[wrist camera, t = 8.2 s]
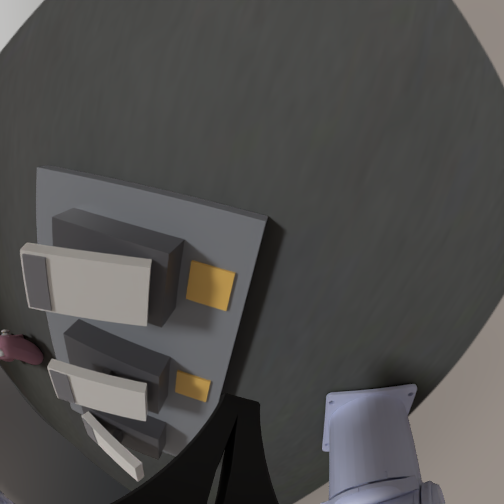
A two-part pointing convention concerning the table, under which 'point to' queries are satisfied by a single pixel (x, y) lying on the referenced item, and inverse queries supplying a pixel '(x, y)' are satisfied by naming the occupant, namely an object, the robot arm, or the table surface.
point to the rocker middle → (99, 390)
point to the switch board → (190, 319)
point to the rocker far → (113, 447)
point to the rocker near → (87, 283)
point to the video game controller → (19, 349)
